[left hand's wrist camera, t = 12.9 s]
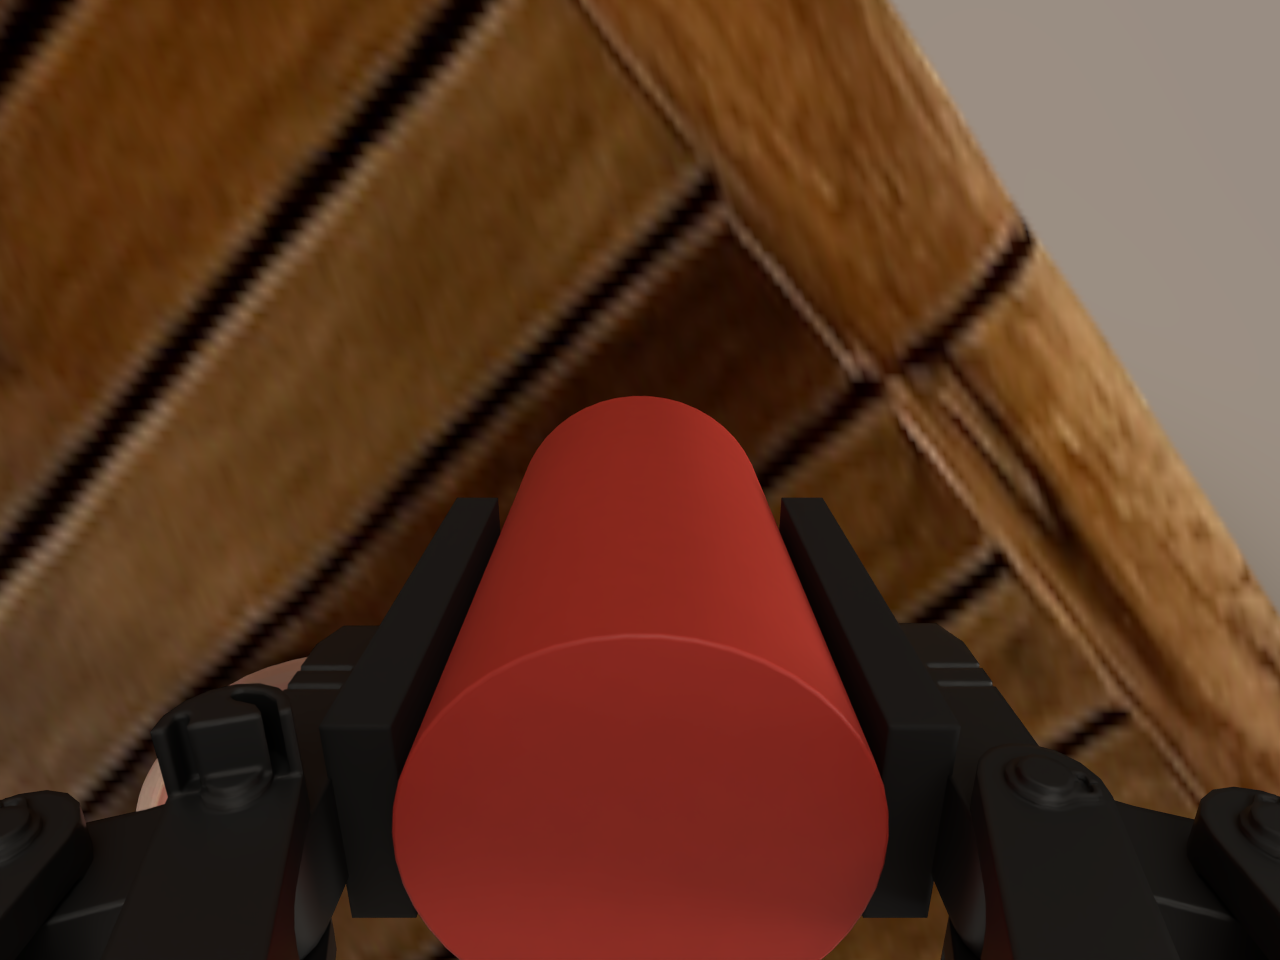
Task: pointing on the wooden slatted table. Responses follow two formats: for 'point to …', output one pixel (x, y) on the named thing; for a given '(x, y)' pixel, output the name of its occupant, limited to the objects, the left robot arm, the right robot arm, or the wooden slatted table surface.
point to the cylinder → (640, 721)
